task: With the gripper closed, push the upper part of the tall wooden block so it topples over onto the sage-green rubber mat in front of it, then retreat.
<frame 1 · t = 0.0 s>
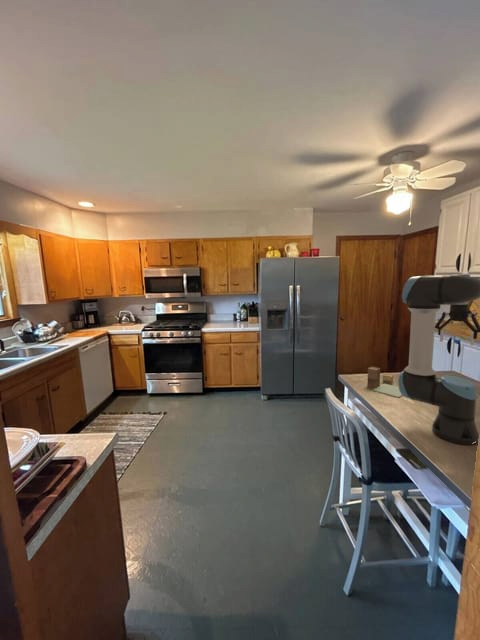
hand: (456, 343, 152), 28 cm above the table, fingers open, 13 cm apart
oak cube: (387, 382, 174), on the table
mat: (390, 390, 161), on the table
wooden block: (373, 386, 169), on the table
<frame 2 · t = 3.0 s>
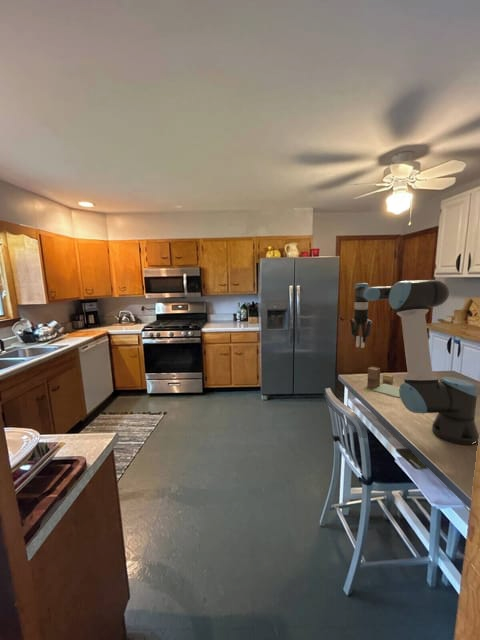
hand: (360, 347, 173), 23 cm above the table, fingers open, 3 cm apart
nothing on the table moved.
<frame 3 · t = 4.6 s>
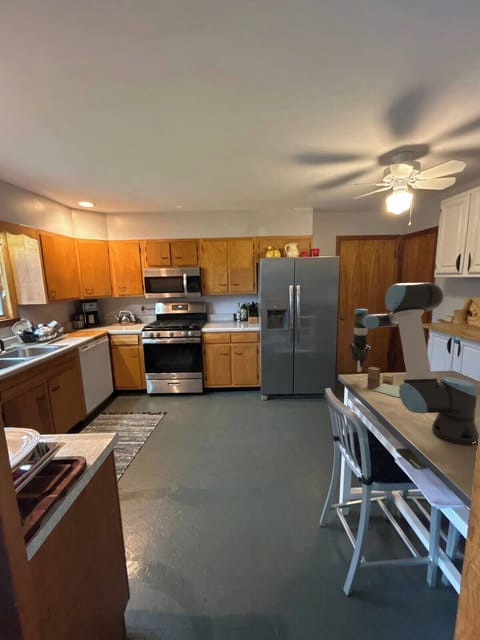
hand: (359, 371, 175), 7 cm above the table, fingers closed
nothing on the table moved.
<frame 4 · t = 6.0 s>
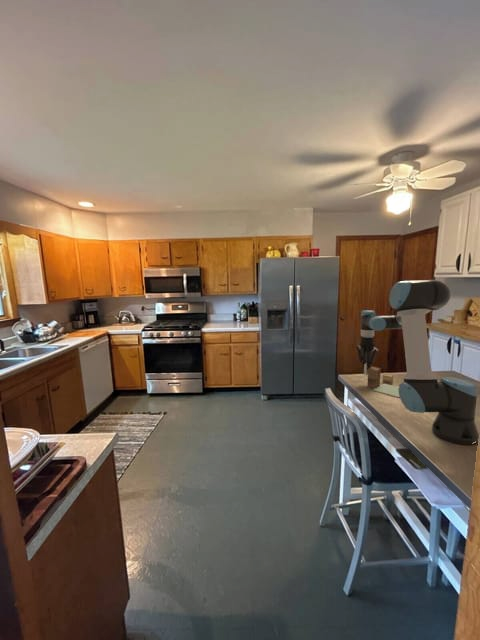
hand: (366, 374, 171), 6 cm above the table, fingers closed
wooden block: (373, 386, 169), on the table, touching gripper
everything else where it was.
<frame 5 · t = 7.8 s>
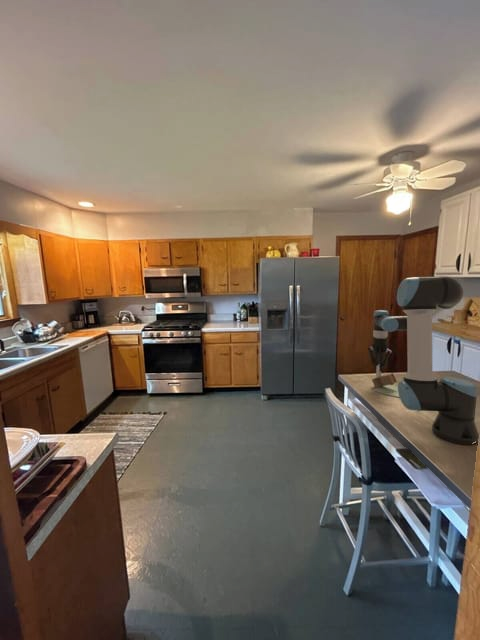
hand: (378, 376, 166), 7 cm above the table, fingers closed
wooden block: (375, 382, 168), point 2 cm above the table, tilted 62°, touching gripper, mat
everything else where it was.
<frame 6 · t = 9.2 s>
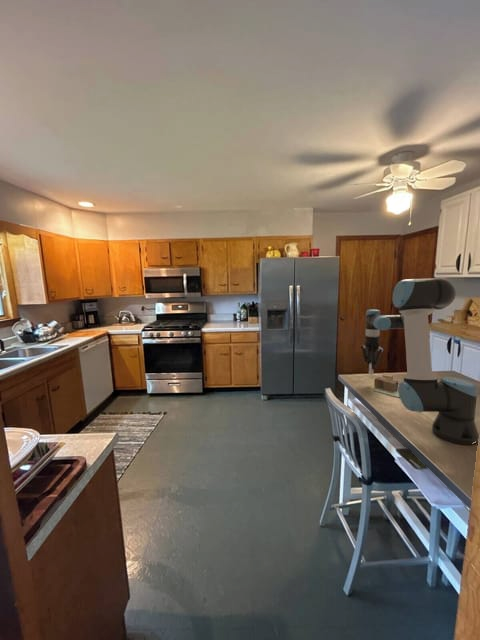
hand: (371, 374, 169), 7 cm above the table, fingers closed
wooden block: (376, 381, 167), point 3 cm above the table, tilted 90°, touching mat
everything else where it was.
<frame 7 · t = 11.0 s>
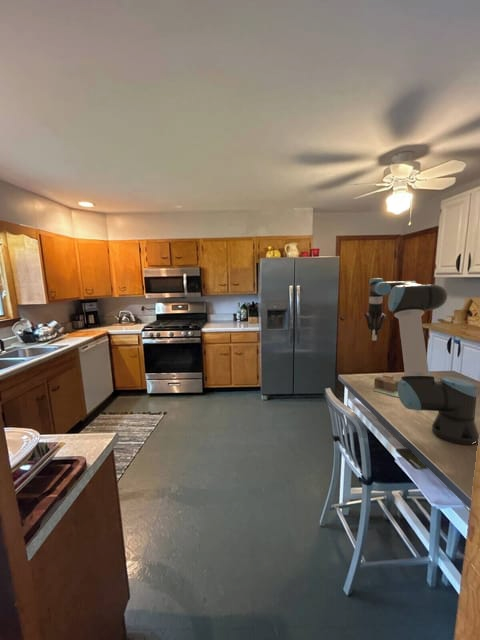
hand: (374, 340, 179), 25 cm above the table, fingers closed
nothing on the table moved.
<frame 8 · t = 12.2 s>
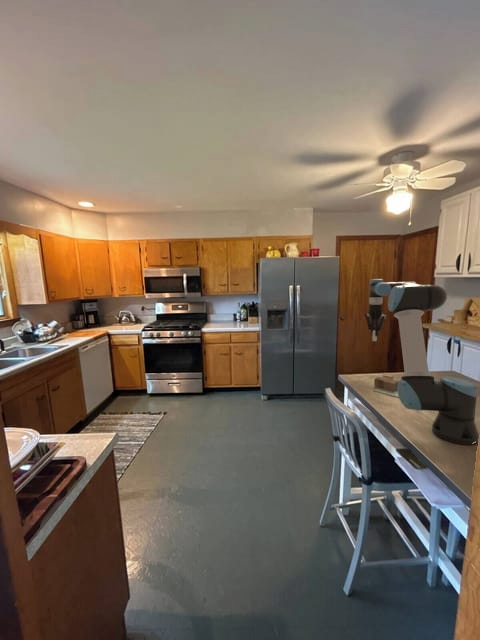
hand: (374, 340, 179), 24 cm above the table, fingers closed
nothing on the table moved.
at the end: wooden block tilted 90°; wooden block inside the target area (7.4 cm from its centre), point 3.1 cm above the table; the gripper is holding nothing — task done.
